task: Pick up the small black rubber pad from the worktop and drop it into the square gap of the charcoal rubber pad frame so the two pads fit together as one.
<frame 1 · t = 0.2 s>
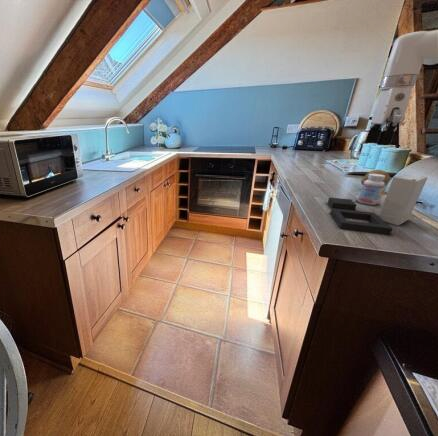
hand: (376, 143, 79), 24 cm above the countertop, tool pointing down, fingers open, 9 cm apart
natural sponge: (370, 191, 111), on the countertop
black pad: (340, 207, 93), on the countertop
pad frame: (356, 223, 79), on the countertop
cosmetic box: (392, 220, 81), on the countertop
pill bottle: (367, 203, 97), on the countertop
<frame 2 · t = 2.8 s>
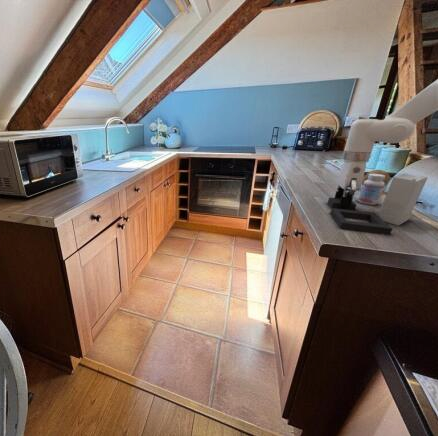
hand: (341, 203, 92), 1 cm above the countertop, tool pointing down, fingers closed on black pad, 7 cm apart
black pad: (340, 207, 93), on the countertop, touching gripper
everything else where it was.
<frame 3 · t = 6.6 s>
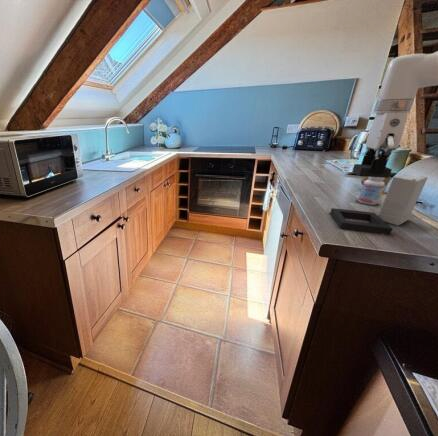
hand: (371, 170, 74), 17 cm above the countertop, tool pointing down, fingers closed on black pad, 7 cm apart
black pad: (369, 174, 75), point 15 cm above the countertop, touching gripper
everything else where it was.
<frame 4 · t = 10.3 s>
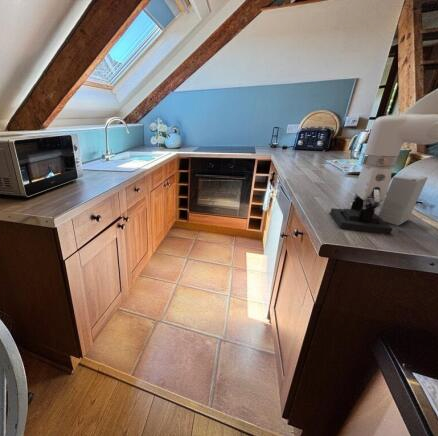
hand: (359, 216, 78), 2 cm above the countertop, tool pointing down, fingers closed on black pad, 7 cm apart
black pad: (358, 220, 79), point 1 cm above the countertop, touching gripper
everything else where it was.
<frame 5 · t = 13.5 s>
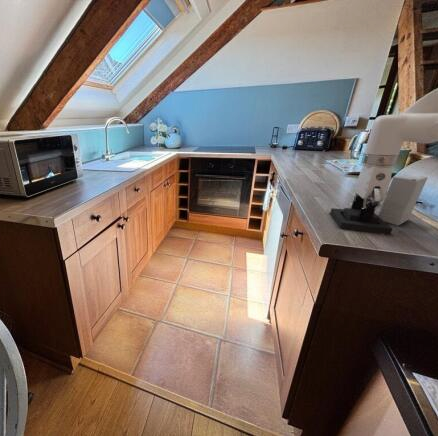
hand: (359, 216, 78), 2 cm above the countertop, tool pointing down, fingers closed on black pad, 7 cm apart
black pad: (358, 219, 79), point 1 cm above the countertop, touching gripper
everything else where it was.
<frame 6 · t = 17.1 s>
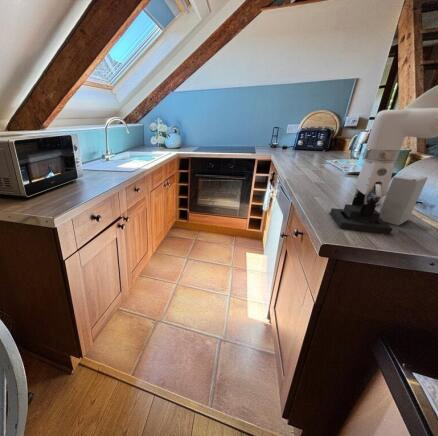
hand: (360, 212, 78), 4 cm above the countertop, tool pointing down, fingers closed on black pad, 7 cm apart
black pad: (359, 216, 78), point 2 cm above the countertop, touching gripper
everything else where it was.
when the fingers open (4 cm above the countertop, at t = 23.3 s): black pad drops 2 cm, resting in pad frame.
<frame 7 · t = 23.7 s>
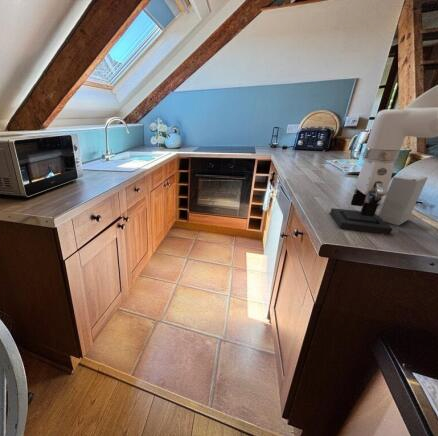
hand: (361, 210, 77), 4 cm above the countertop, tool pointing down, fingers open, 9 cm apart
black pad: (356, 222, 79), resting in pad frame
everything else where it was.
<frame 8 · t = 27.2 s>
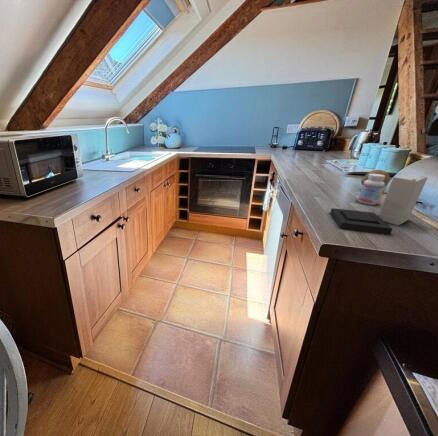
nothing on the countertop moved.
at the end: black pad 0.0 cm off-centre on the pad frame, point 0.0 cm above the pad frame's base; black pad tilted 0°; the gripper is holding nothing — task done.
